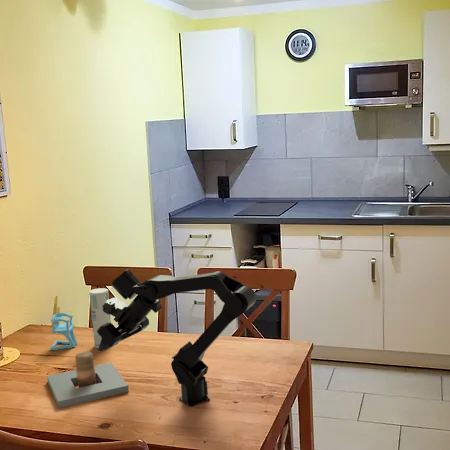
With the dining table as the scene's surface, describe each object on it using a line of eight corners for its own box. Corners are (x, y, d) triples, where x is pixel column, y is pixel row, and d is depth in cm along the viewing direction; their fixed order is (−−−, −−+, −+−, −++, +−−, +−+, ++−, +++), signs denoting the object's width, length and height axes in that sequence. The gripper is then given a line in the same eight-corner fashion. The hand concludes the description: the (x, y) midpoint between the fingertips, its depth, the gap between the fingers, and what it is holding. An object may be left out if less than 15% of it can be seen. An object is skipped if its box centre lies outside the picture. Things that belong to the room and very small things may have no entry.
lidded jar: (90, 391, 185) (86, 359, 183) (74, 389, 187) (71, 357, 185) (99, 384, 190) (96, 352, 188) (84, 382, 192) (81, 351, 190)
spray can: (115, 346, 221) (110, 291, 217) (97, 350, 218) (91, 294, 214) (110, 340, 226) (105, 287, 223) (92, 344, 224) (87, 290, 220)
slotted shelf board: (128, 391, 183) (128, 385, 183) (58, 408, 175) (58, 401, 175) (111, 368, 201) (111, 362, 201) (47, 382, 193) (47, 376, 193)
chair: (73, 350, 220) (70, 317, 217) (50, 350, 220) (46, 318, 218) (78, 342, 227) (76, 310, 225) (56, 343, 227) (52, 311, 225)
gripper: (137, 282, 188) (110, 316, 194) (99, 298, 171) (71, 334, 177) (162, 309, 185) (133, 343, 191) (126, 328, 168) (96, 364, 175)
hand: (109, 345), depth 184 cm, fingers open, 9 cm apart
